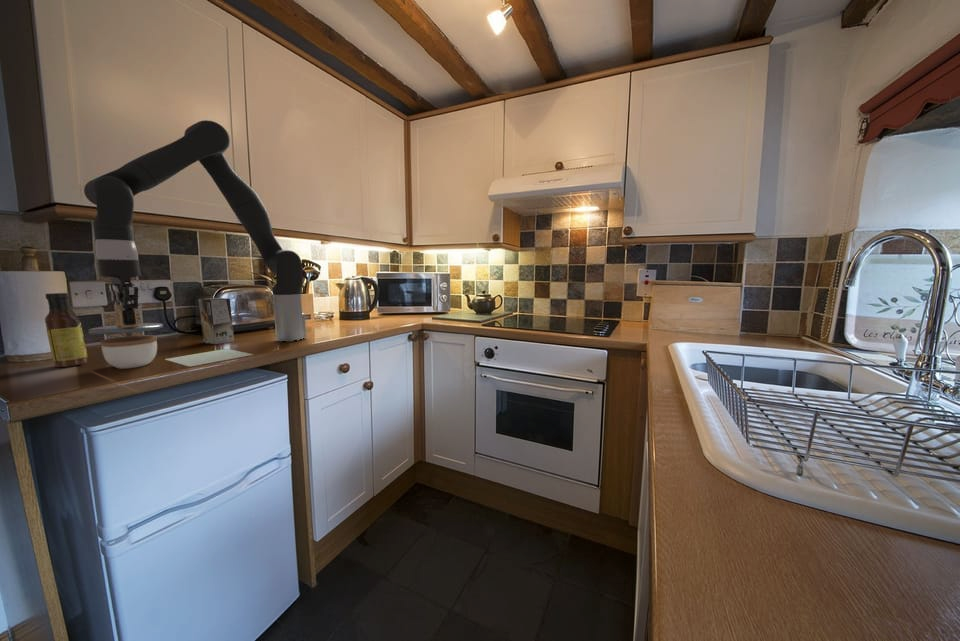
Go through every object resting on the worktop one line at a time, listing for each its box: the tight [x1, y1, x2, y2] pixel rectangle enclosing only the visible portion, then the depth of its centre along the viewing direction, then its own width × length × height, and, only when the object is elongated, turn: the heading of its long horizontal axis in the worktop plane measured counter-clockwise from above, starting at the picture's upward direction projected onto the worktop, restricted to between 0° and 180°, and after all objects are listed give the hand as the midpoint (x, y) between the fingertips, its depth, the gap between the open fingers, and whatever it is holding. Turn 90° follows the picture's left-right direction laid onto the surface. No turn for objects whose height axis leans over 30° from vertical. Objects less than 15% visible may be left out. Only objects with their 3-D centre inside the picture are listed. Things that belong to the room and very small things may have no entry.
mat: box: [164, 348, 254, 367], centre depth 104 cm, size 16×16×1 cm
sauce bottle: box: [44, 292, 88, 368], centre depth 94 cm, size 7×6×20 cm
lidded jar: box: [99, 333, 158, 369], centre depth 94 cm, size 11×11×9 cm
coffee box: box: [198, 297, 235, 345], centre depth 126 cm, size 9×6×16 cm
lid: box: [88, 304, 164, 335], centre depth 92 cm, size 14×14×7 cm
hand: (127, 323), depth 93 cm, fingers closed on lid, 3 cm apart
